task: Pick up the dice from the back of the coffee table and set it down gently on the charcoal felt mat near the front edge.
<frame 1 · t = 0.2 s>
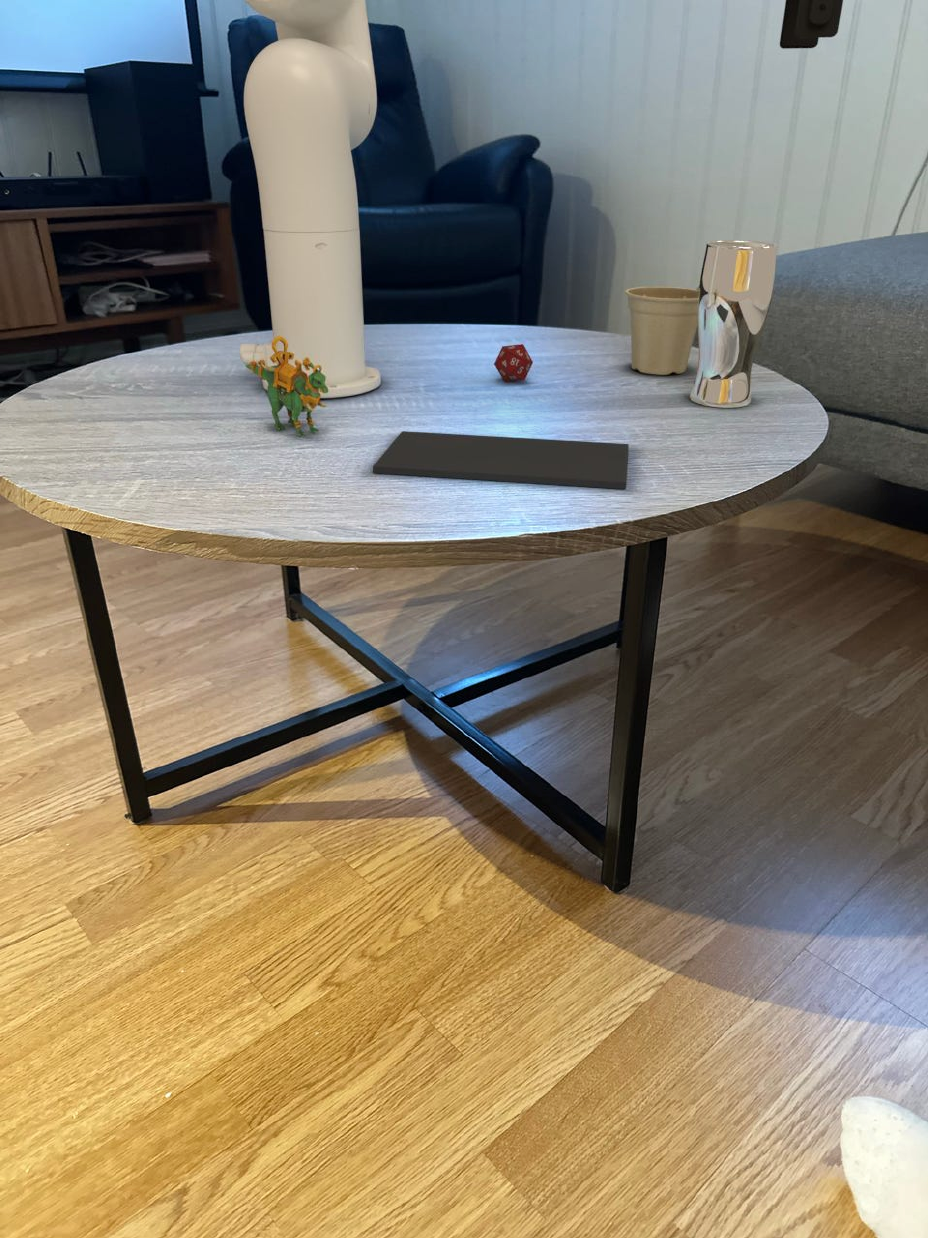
hand: (806, 42, 76), 31 cm above the table, tool pointing down, fingers open, 9 cm apart
mat: (505, 461, 75), on the table
beer glass: (719, 402, 93), on the table
figurine: (289, 429, 84), on the table
dice: (512, 383, 100), on the table
flower pot: (659, 371, 105), on the table
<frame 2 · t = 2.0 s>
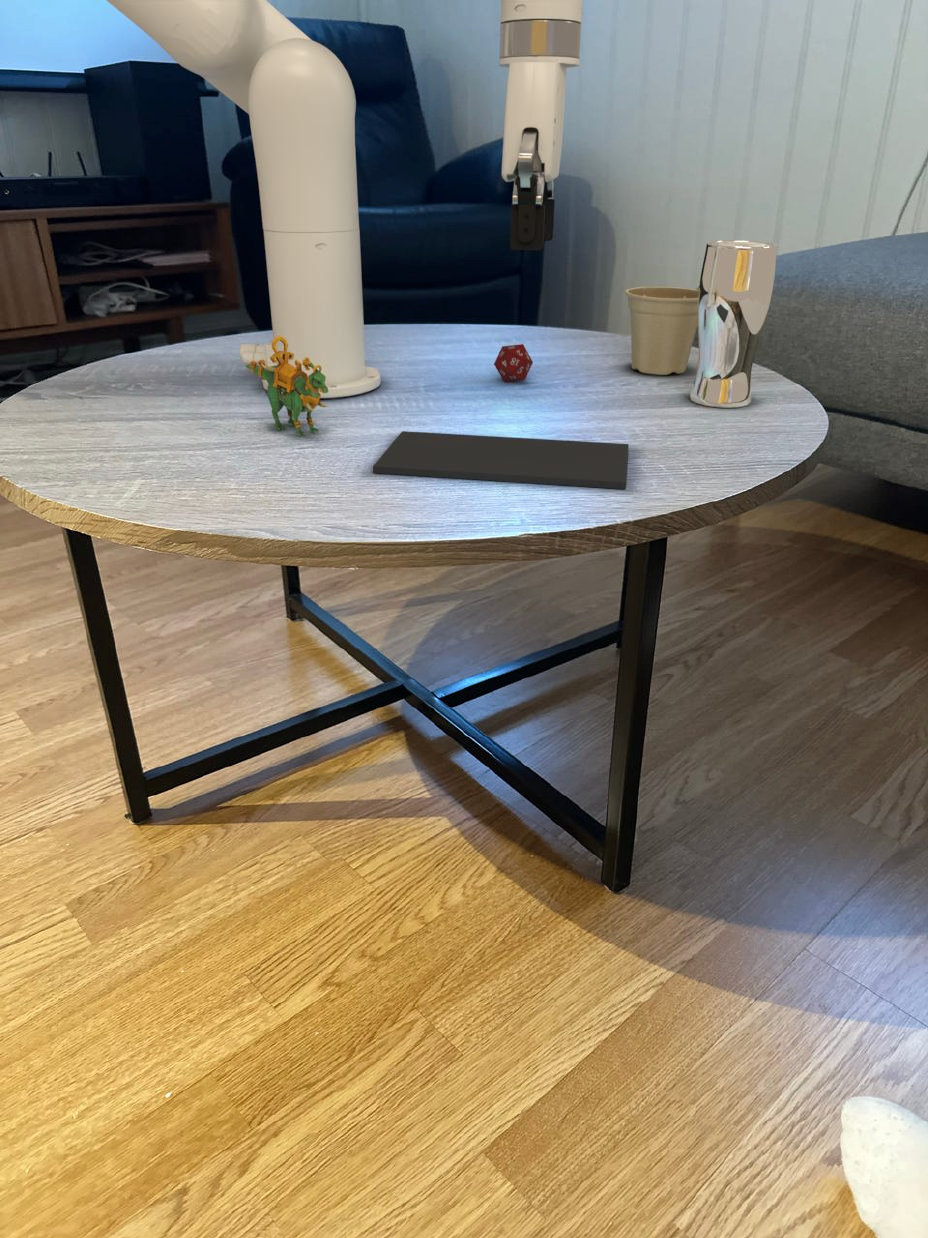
hand: (532, 244, 93), 14 cm above the table, tool pointing down, fingers open, 9 cm apart
nothing on the table moved.
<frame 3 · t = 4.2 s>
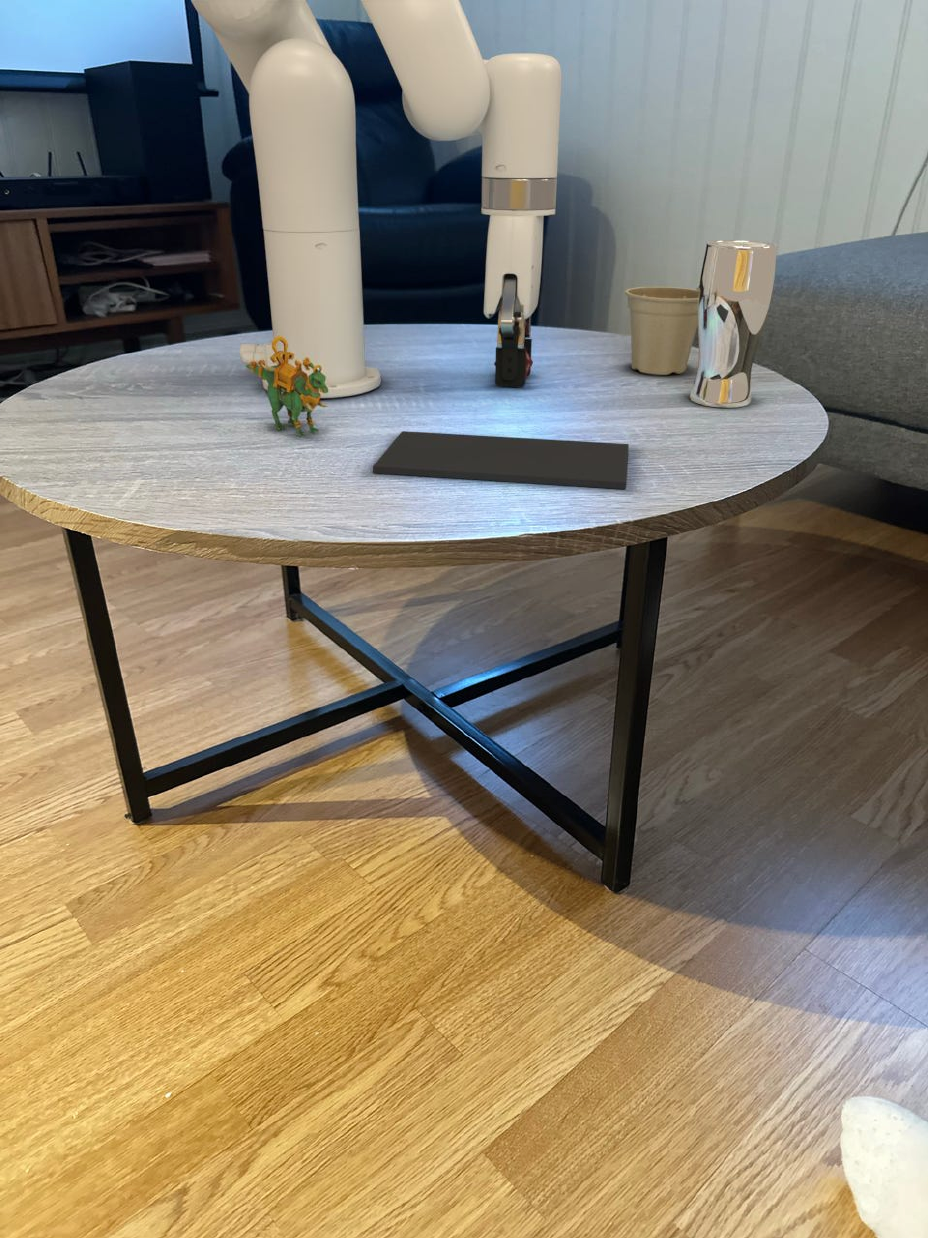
hand: (513, 378, 100), 0 cm above the table, tool pointing down, fingers closed on dice, 4 cm apart
dice: (512, 383, 100), on the table, touching gripper
everything else where it was.
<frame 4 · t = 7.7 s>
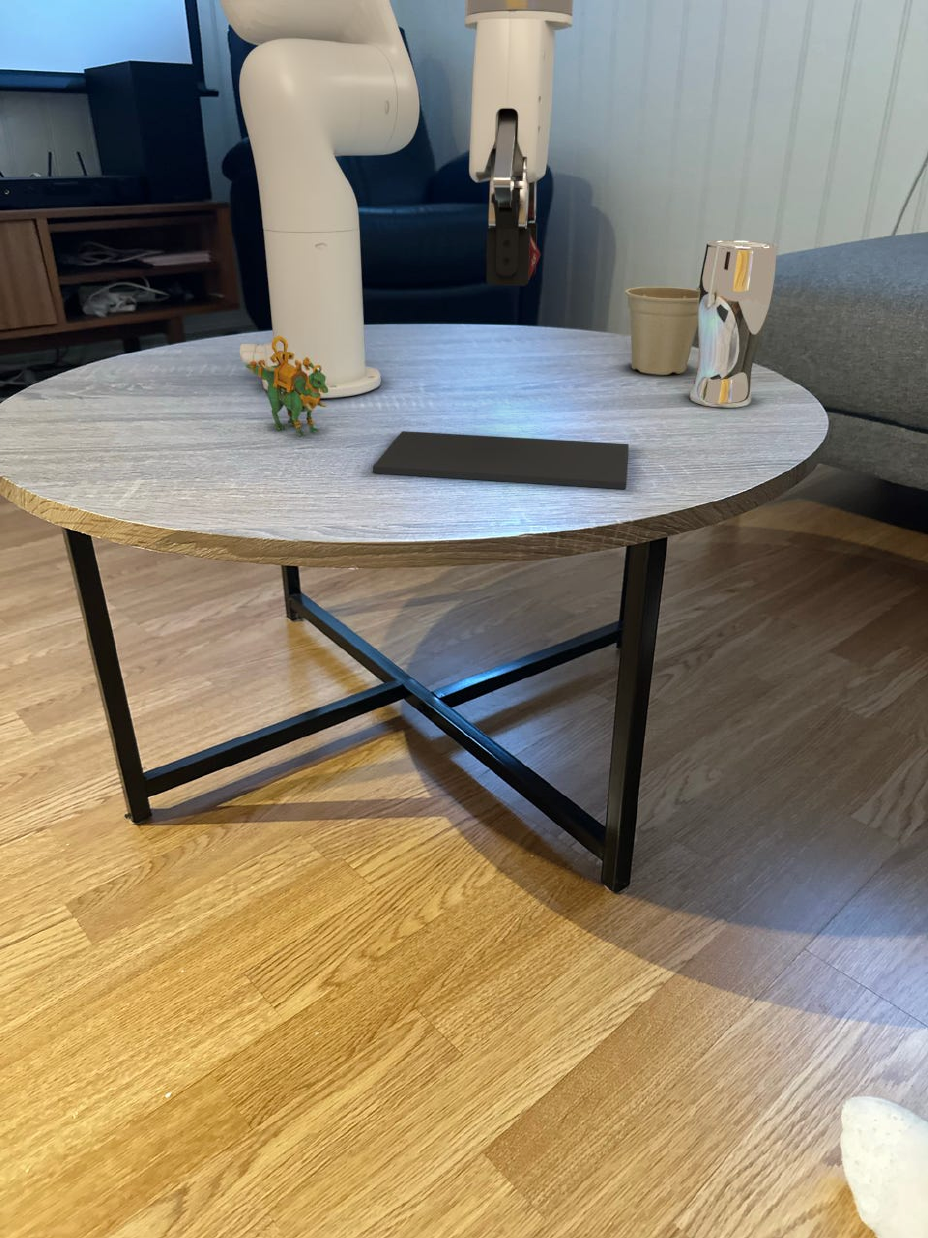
hand: (511, 277, 71), 14 cm above the table, tool pointing down, fingers closed on dice, 4 cm apart
dice: (512, 284, 71), point 13 cm above the table, touching gripper
everything else where it was.
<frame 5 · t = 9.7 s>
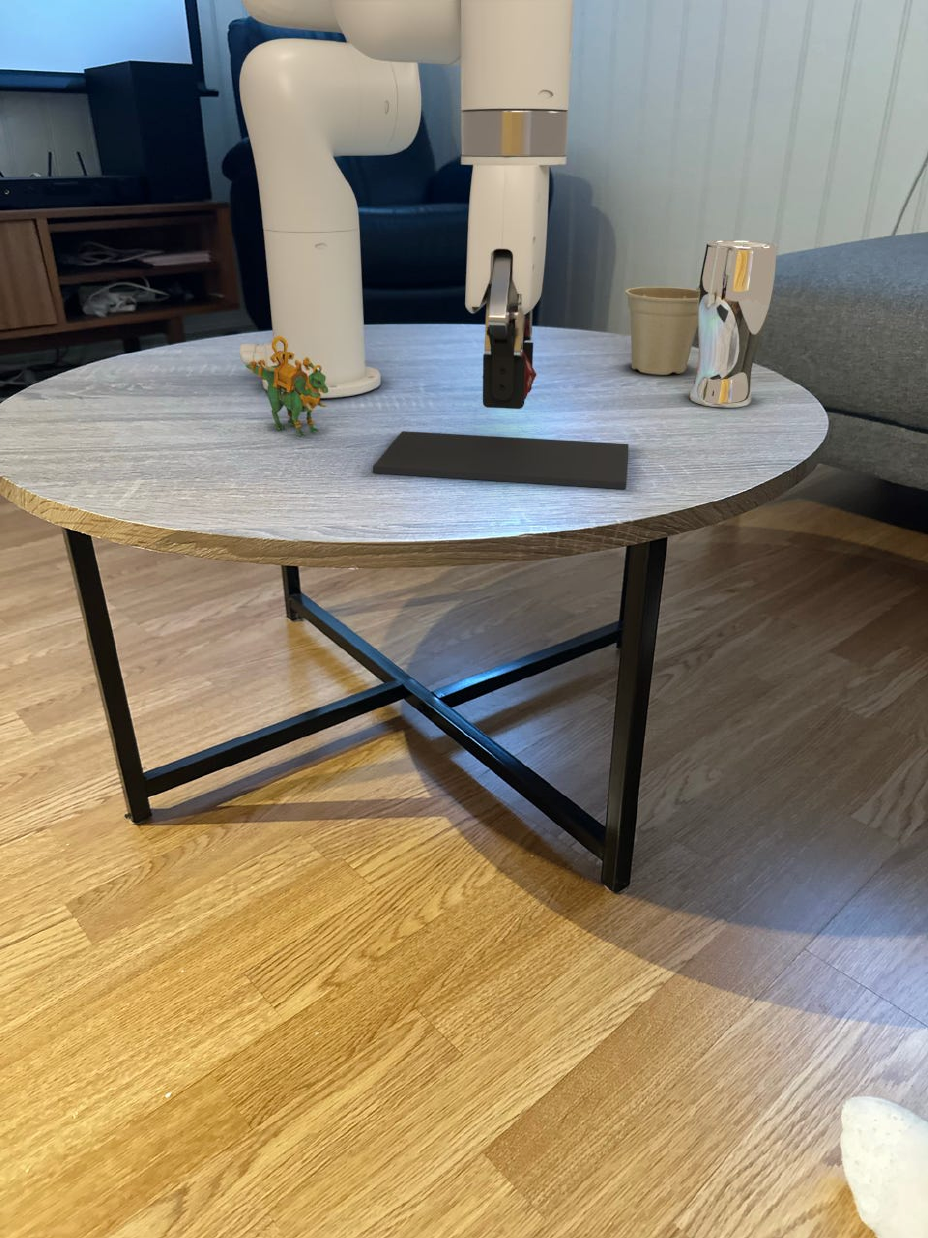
hand: (507, 396, 72), 5 cm above the table, tool pointing down, fingers closed on dice, 4 cm apart
dice: (509, 403, 73), point 5 cm above the table, touching gripper
everything else where it was.
when the fingers open (1 cm above the table, at t = 11.2 s): dice stays where it is, resting on mat.
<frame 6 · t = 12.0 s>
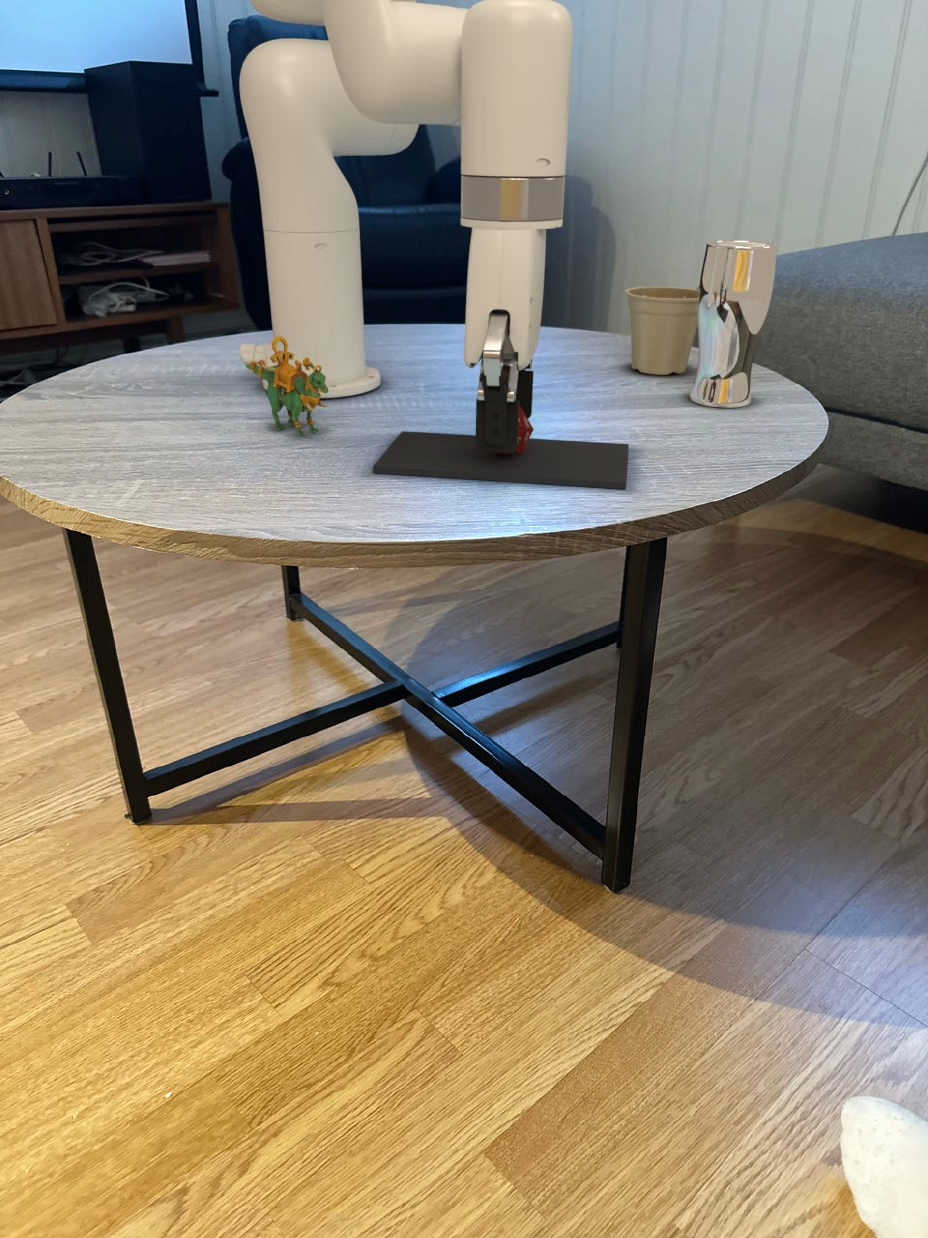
hand: (505, 433, 74), 2 cm above the table, tool pointing down, fingers open, 9 cm apart
dice: (506, 456, 75), resting on mat
everything else where it was.
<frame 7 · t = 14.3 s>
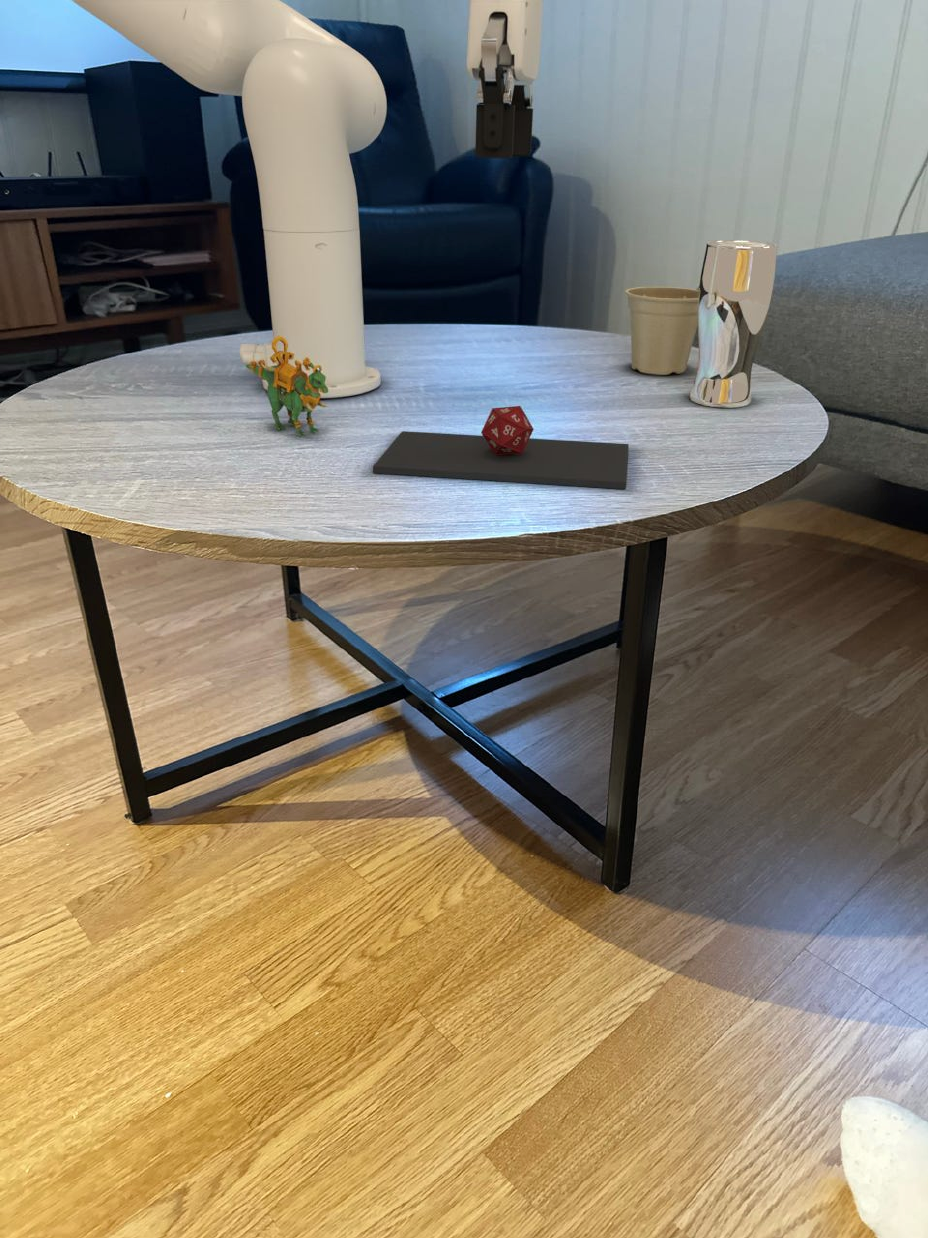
hand: (504, 156, 82), 22 cm above the table, tool pointing down, fingers open, 9 cm apart
nothing on the table moved.
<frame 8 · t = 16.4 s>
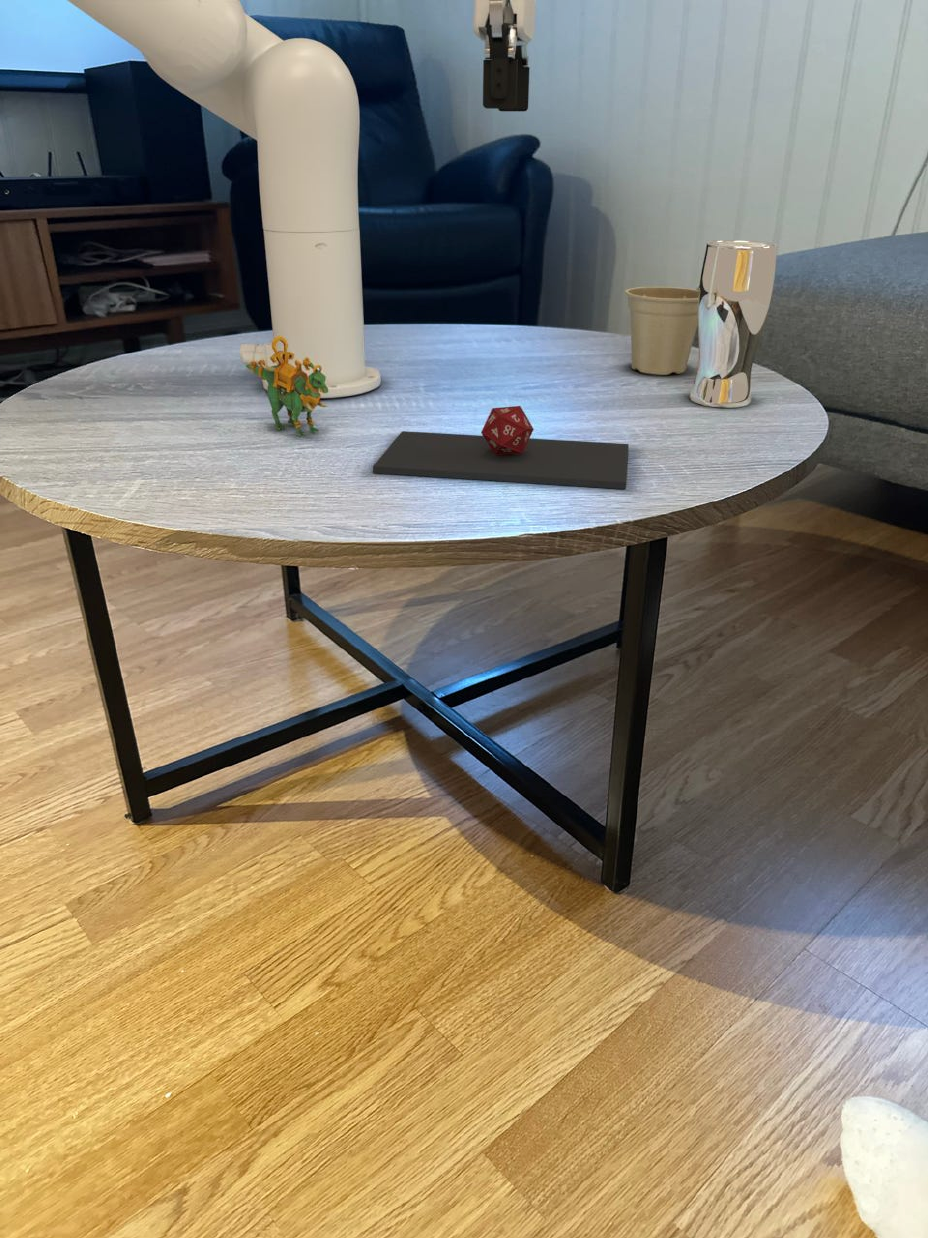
hand: (506, 109, 91), 26 cm above the table, tool pointing down, fingers open, 9 cm apart
nothing on the table moved.
at the end: dice inside the target area on the mat (0.1 cm from its centre), point 0.4 cm above the mat's base; the gripper is holding nothing; dice tilted 0° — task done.
